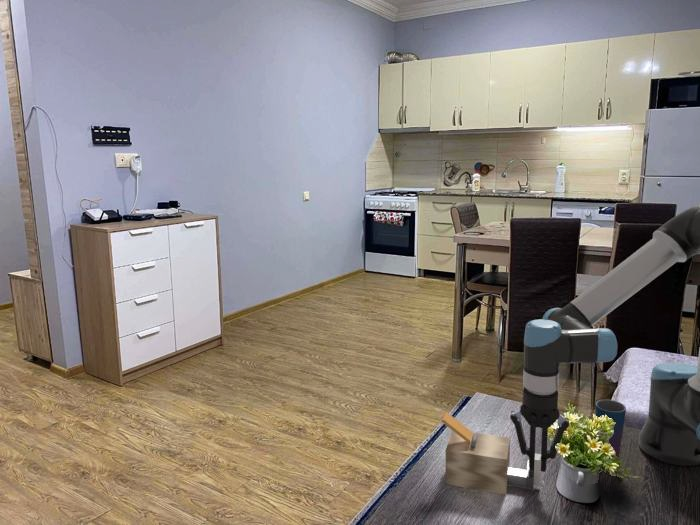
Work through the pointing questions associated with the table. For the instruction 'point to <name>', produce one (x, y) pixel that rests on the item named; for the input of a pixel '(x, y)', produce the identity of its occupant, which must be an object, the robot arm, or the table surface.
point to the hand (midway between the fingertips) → (536, 481)
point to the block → (478, 462)
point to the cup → (617, 414)
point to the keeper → (459, 429)
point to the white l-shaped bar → (520, 478)
